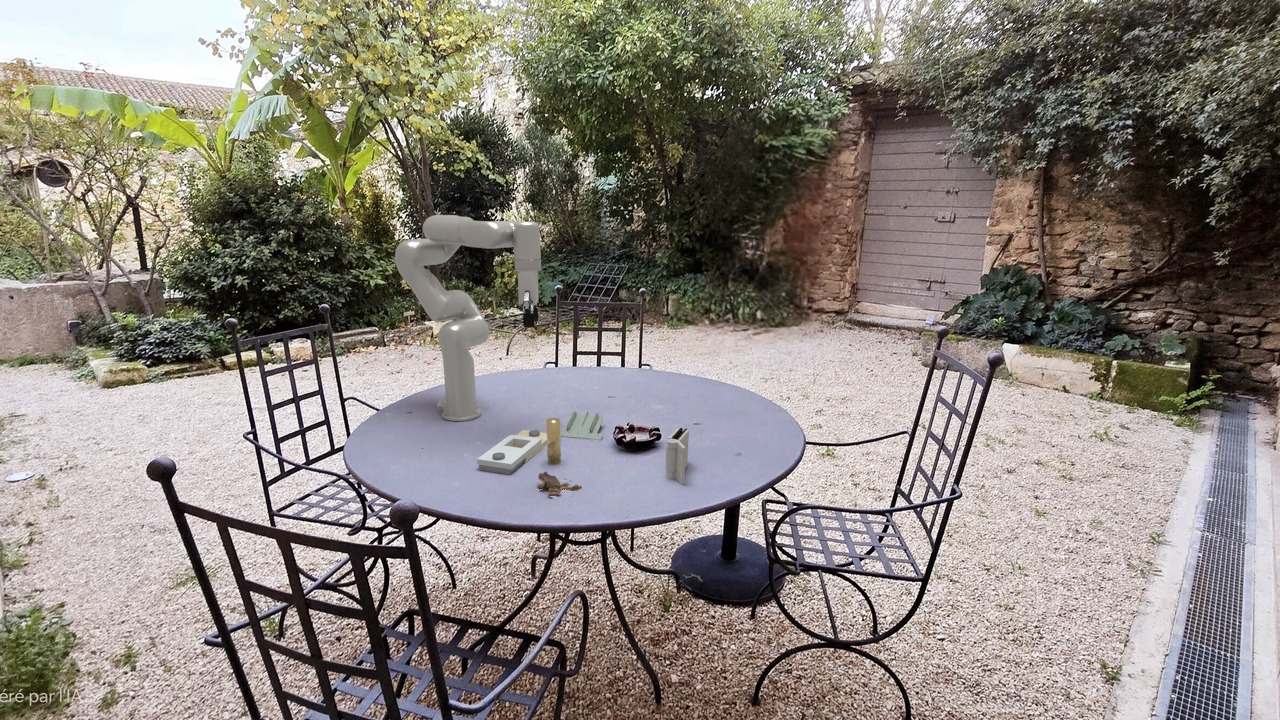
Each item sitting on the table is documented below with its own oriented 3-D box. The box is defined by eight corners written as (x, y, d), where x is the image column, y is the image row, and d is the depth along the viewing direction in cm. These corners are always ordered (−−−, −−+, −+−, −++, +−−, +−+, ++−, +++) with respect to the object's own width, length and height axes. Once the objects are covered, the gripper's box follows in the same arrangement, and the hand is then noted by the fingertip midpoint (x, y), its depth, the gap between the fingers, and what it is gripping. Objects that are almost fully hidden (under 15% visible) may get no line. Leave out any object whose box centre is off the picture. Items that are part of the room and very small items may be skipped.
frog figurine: (521, 494, 143) (520, 480, 142) (553, 476, 153) (553, 462, 152) (557, 507, 137) (557, 492, 136) (588, 487, 147) (588, 473, 146)
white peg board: (511, 474, 152) (511, 461, 151) (477, 469, 155) (476, 456, 154) (553, 438, 176) (553, 426, 175) (523, 434, 179) (522, 422, 178)
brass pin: (545, 463, 159) (544, 421, 156) (550, 458, 162) (550, 417, 159) (557, 465, 158) (556, 423, 155) (562, 459, 161) (562, 418, 158)
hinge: (684, 485, 148) (685, 448, 146) (663, 483, 149) (664, 446, 146) (688, 462, 162) (689, 428, 159) (668, 461, 162) (669, 426, 160)
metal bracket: (565, 406, 188) (610, 409, 185) (567, 420, 191) (611, 424, 188) (551, 433, 176) (599, 437, 173) (553, 448, 179) (600, 453, 176)
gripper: (519, 263, 178) (522, 319, 182) (510, 268, 161) (514, 329, 165) (543, 263, 178) (546, 318, 182) (538, 267, 161) (541, 329, 165)
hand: (531, 323), depth 173 cm, fingers open, 9 cm apart
